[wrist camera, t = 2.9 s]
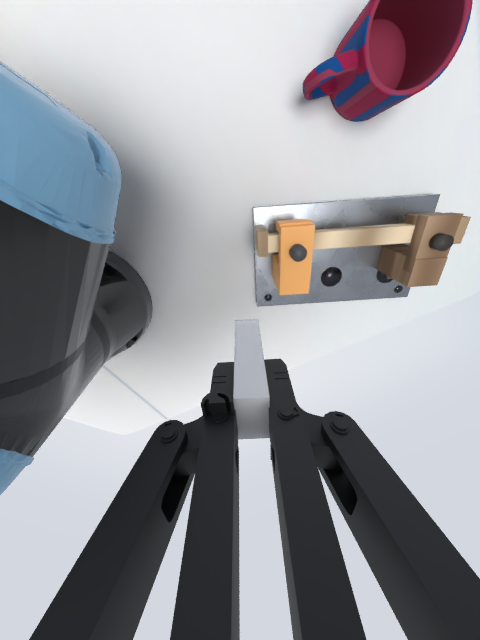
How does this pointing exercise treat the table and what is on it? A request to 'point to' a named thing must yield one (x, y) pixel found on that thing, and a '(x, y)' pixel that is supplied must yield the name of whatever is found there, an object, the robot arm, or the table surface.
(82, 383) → the robot arm
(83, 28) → the table surface
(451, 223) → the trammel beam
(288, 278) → the slider leg
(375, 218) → the flange plate
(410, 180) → the table surface
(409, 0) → the mug
